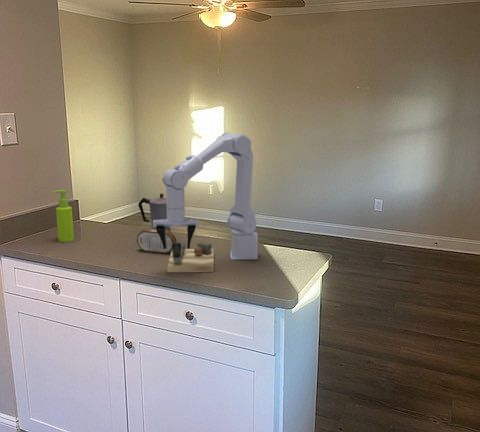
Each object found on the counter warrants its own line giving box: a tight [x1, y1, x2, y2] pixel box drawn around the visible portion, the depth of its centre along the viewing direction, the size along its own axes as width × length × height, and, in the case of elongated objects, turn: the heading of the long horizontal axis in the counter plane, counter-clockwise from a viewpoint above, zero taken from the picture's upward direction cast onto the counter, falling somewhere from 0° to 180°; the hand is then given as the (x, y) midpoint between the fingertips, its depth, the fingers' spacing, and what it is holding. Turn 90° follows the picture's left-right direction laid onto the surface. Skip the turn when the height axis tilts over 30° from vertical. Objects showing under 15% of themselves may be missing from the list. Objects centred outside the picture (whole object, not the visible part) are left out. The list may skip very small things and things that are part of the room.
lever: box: [172, 241, 187, 261], centre depth 168 cm, size 18×4×7 cm, turn 3°
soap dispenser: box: [51, 189, 75, 243], centre depth 194 cm, size 6×7×20 cm
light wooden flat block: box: [166, 241, 215, 273], centre depth 170 cm, size 19×15×6 cm
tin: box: [136, 228, 178, 254], centre depth 181 cm, size 15×3×8 cm, turn 74°
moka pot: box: [138, 193, 172, 233], centre depth 189 cm, size 10×15×20 cm, turn 89°
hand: (176, 248), depth 160 cm, fingers open, 7 cm apart
